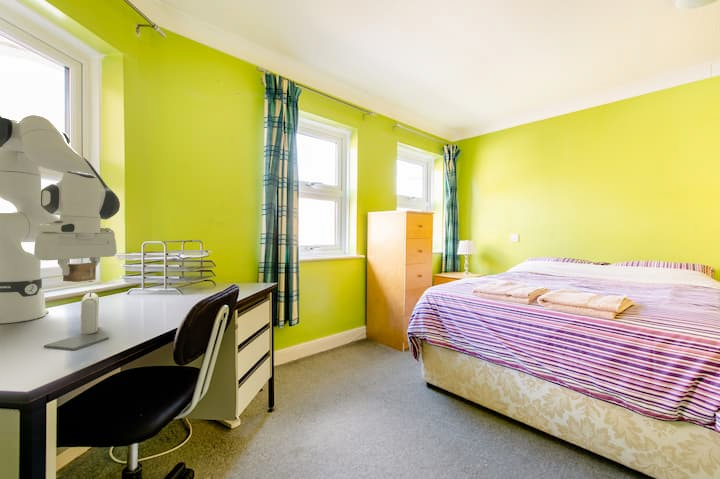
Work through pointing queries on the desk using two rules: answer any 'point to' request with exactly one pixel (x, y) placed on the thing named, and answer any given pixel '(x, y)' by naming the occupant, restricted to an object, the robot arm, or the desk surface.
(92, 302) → the white rounded upright block
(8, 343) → the desk surface
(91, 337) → the slate pad
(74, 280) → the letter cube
